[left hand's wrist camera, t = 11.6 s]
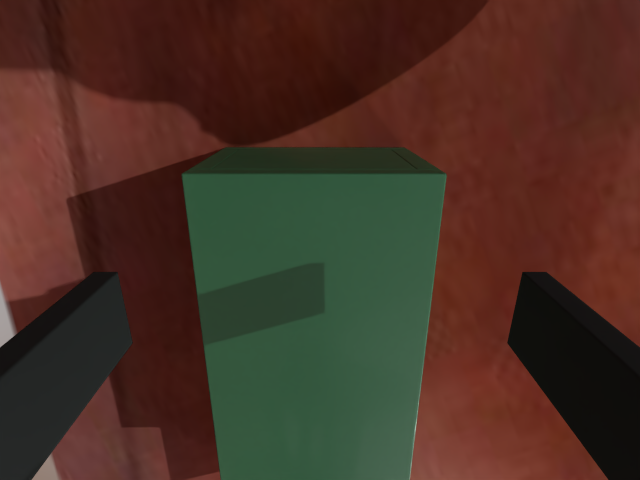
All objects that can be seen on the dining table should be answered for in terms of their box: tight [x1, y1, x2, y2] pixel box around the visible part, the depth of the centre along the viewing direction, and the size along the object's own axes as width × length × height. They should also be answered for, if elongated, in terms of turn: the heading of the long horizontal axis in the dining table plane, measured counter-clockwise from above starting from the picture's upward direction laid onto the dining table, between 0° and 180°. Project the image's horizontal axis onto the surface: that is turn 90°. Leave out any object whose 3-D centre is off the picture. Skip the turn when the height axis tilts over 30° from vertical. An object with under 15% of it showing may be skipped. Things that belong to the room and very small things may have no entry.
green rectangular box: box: [182, 147, 446, 480], centre depth 24 cm, size 20×11×8 cm, turn 0°
